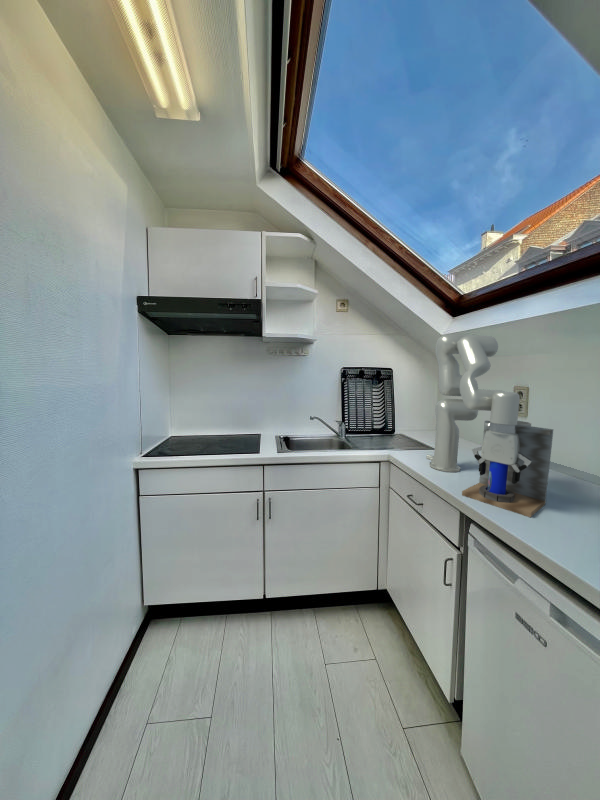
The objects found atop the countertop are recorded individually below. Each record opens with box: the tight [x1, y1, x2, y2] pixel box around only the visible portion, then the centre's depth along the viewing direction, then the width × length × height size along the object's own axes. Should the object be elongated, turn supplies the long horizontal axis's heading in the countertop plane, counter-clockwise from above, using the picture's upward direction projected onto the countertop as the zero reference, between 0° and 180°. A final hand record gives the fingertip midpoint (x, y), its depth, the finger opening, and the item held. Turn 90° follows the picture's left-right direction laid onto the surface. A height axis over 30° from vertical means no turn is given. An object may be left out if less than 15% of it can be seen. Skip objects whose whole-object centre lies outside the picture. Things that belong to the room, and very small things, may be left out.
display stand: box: [461, 420, 554, 518], centre depth 103 cm, size 20×16×26 cm
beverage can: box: [487, 461, 508, 495], centre depth 102 cm, size 5×5×15 cm
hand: (497, 478), depth 102 cm, fingers open, 9 cm apart
